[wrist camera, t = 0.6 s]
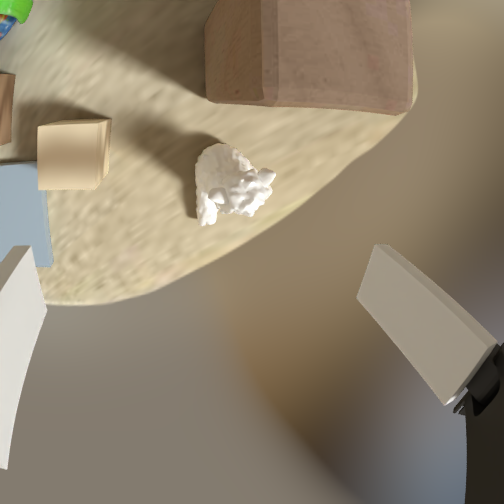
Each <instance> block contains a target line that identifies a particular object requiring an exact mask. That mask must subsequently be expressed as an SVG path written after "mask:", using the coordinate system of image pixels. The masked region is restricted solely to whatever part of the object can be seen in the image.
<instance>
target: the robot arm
mask: <svg viewBox="0 0 504 504" xmlns="http://www.w3.org/2000/svg"><path fill="white" fill-rule="evenodd" d="M356 298H357V299H358V301H359V302H360V303H361V304H362V305H363V306H364V307H365V309H366V310H367V311H368V312H369V313H370V314H371V316H372V317H373V318H374V319H375V320H376V322H377V323H378V324H379V325H380V326H381V327H382V329H383V330H384V331H385V332H386V333H387V334H388V336H389V337H390V338H391V339H392V341H393V342H394V343H395V344H396V345H397V347H398V348H399V349H400V350H401V352H402V353H403V354H404V355H405V356H406V358H407V359H408V360H409V361H410V363H411V364H412V365H413V366H414V368H415V369H416V370H417V371H418V372H419V374H420V375H421V376H422V378H423V379H424V380H425V381H426V383H427V384H428V385H429V387H430V388H431V389H432V390H433V392H434V393H435V394H436V395H437V397H438V398H439V399H440V401H441V402H442V403H443V405H446V404H448V403H449V402H451V401H453V400H455V399H456V398H457V397H458V396H459V395H460V393H461V392H462V391H463V390H464V388H465V387H467V389H468V390H469V391H468V392H467V393H466V394H465V395H464V397H463V398H462V399H461V400H460V401H459V403H458V404H457V405H456V406H455V407H454V411H453V413H456V412H457V411H458V410H459V409H460V408H461V406H464V407H463V408H462V409H461V410H460V411H459V414H461V415H465V416H466V436H467V476H466V493H465V504H504V343H503V344H502V345H501V346H499V345H498V344H497V340H496V339H495V338H494V337H493V336H492V335H491V334H490V333H489V332H488V331H486V329H485V328H483V327H482V326H481V325H480V324H479V323H478V322H477V321H476V320H475V319H474V318H473V317H472V316H471V315H470V314H469V313H468V312H466V310H464V309H463V308H462V307H461V306H460V305H459V304H458V303H457V302H456V301H454V300H453V299H452V298H451V297H450V296H449V295H448V294H446V292H444V291H443V290H442V289H441V288H440V287H439V286H438V285H436V284H435V283H434V282H433V281H432V280H431V279H429V278H428V277H427V276H426V275H425V274H424V273H422V272H421V271H420V270H419V269H418V268H416V267H415V266H414V265H413V264H412V263H410V262H409V261H408V260H407V259H405V258H404V257H403V256H402V255H400V254H399V253H398V252H397V251H395V250H394V249H393V248H392V247H390V246H389V245H388V244H375V245H374V248H373V251H372V254H371V257H370V260H369V263H368V266H367V269H366V272H365V275H364V278H363V281H362V283H361V286H360V289H359V292H358V294H357V297H356ZM46 312H47V308H46V304H45V301H44V297H43V294H42V290H41V286H40V282H39V278H38V274H37V270H36V266H35V261H34V256H33V252H32V247H31V245H24V246H13V248H12V249H11V250H10V251H9V253H8V254H7V255H6V257H5V258H4V259H3V260H2V262H1V263H0V468H3V469H7V466H8V458H9V451H10V444H11V437H12V431H13V426H14V421H15V416H16V411H17V407H18V403H19V398H20V394H21V390H22V386H23V382H24V379H25V375H26V371H27V368H28V365H29V362H30V358H31V355H32V352H33V349H34V346H35V343H36V340H37V337H38V334H39V331H40V328H41V326H42V323H43V320H44V318H45V315H46Z"/></svg>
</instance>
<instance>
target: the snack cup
mask: <svg viewBox="0 0 504 504" xmlns="http://www.w3.org/2000/svg"><path fill="white" fill-rule="evenodd" d="M32 5H33V2H32V0H0V40H1V39H2V38H3V37H4V36H5V35H6V34H7V32H8V31H9V30H10V28H11V27H12V25H13V24H14V22H15V21H16V19H17V20H18V22H19V23H20V24H23V23H24V22H25V21H26V19H27V18H28V16H29V13H30V11H31V8H32Z"/></svg>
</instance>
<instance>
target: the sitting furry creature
mask: <svg viewBox="0 0 504 504" xmlns="http://www.w3.org/2000/svg"><path fill="white" fill-rule="evenodd" d="M195 167H196V168H195V176H196V178H195V182H196V186H197V189H196V196H197V200H196V204H197V208H196V211H197V219H198V224H199V225H200V226H204V225H205V224H206V223H207V224H208V225H211V224H214V223H215V222H216V219H217V217H216V216H217V212H218V209H220V212H221V214H224V213H225V214H229V213H232V212H235V213H236V214H243V215H246V216H249V217H252V216H253V215H254V213H255V212H254V211H256V210H257V209H258V207H259V206H261V205H263V204H264V201H265V199H267V198H268V197H269V196H270V194H272V188H271V186H270V185H269V184H270V183H271V182H272V181H273V179H274V178H275V175H276V173H275V172H273V171H272V170H269V169H267V168H262V169H261V170H260V171H259V172H258V170H257V169H256V168H254V167H253V165H251V163H250V161H248V159H247V158H246V157H245V156H243V155H242V153H241V152H239V151H237V148H232V147H230V146H229V145H227V144H221V143H217V144H215V145H212V146H210V147H207V148H206V149H204V150H203V152H202V154H201V155H200V156H199V157H198V162H197V163H196V164H195Z"/></svg>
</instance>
